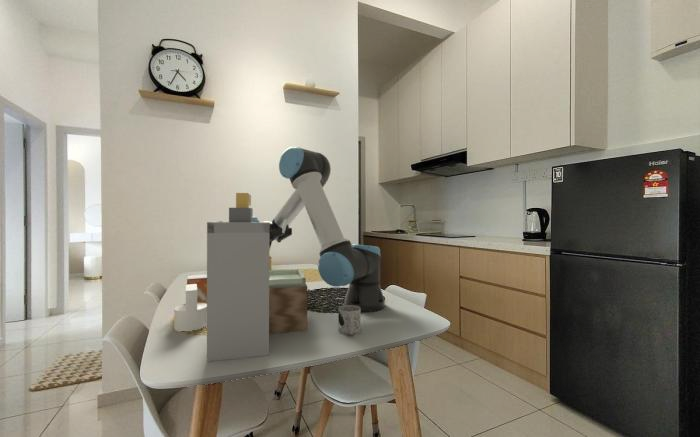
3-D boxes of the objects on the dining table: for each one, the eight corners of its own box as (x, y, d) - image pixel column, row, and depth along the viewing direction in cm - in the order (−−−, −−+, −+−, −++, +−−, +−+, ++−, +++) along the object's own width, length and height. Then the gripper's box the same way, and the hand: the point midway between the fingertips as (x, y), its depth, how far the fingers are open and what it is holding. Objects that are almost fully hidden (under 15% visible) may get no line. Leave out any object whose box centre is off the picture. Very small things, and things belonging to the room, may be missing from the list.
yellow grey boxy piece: (254, 228, 94) (254, 195, 94) (250, 232, 75) (250, 191, 75) (236, 228, 93) (237, 195, 92) (228, 232, 74) (229, 191, 74)
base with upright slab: (208, 328, 92) (208, 288, 92) (173, 333, 88) (173, 292, 88) (206, 319, 100) (206, 282, 100) (174, 323, 96) (174, 285, 96)
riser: (301, 312, 108) (301, 275, 108) (307, 330, 91) (307, 286, 91) (262, 315, 104) (263, 277, 104) (261, 334, 88) (261, 289, 88)
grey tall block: (268, 335, 87) (269, 221, 87) (268, 355, 75) (269, 222, 75) (215, 340, 84) (216, 221, 83) (206, 361, 71) (207, 222, 71)
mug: (337, 326, 95) (337, 305, 95) (358, 326, 95) (359, 304, 95) (339, 339, 85) (340, 315, 85) (363, 339, 85) (363, 315, 85)
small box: (186, 318, 101) (186, 278, 101) (186, 312, 106) (187, 275, 106) (213, 314, 104) (213, 276, 104) (212, 309, 110) (212, 273, 110)
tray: (300, 275, 107) (300, 268, 107) (305, 286, 92) (305, 278, 92) (264, 277, 104) (264, 270, 104) (263, 288, 88) (263, 279, 88)
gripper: (293, 252, 125) (301, 233, 107) (227, 251, 118) (225, 229, 99) (293, 235, 128) (301, 213, 110) (229, 233, 121) (227, 209, 103)
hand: (265, 221), depth 105 cm, fingers open, 13 cm apart
